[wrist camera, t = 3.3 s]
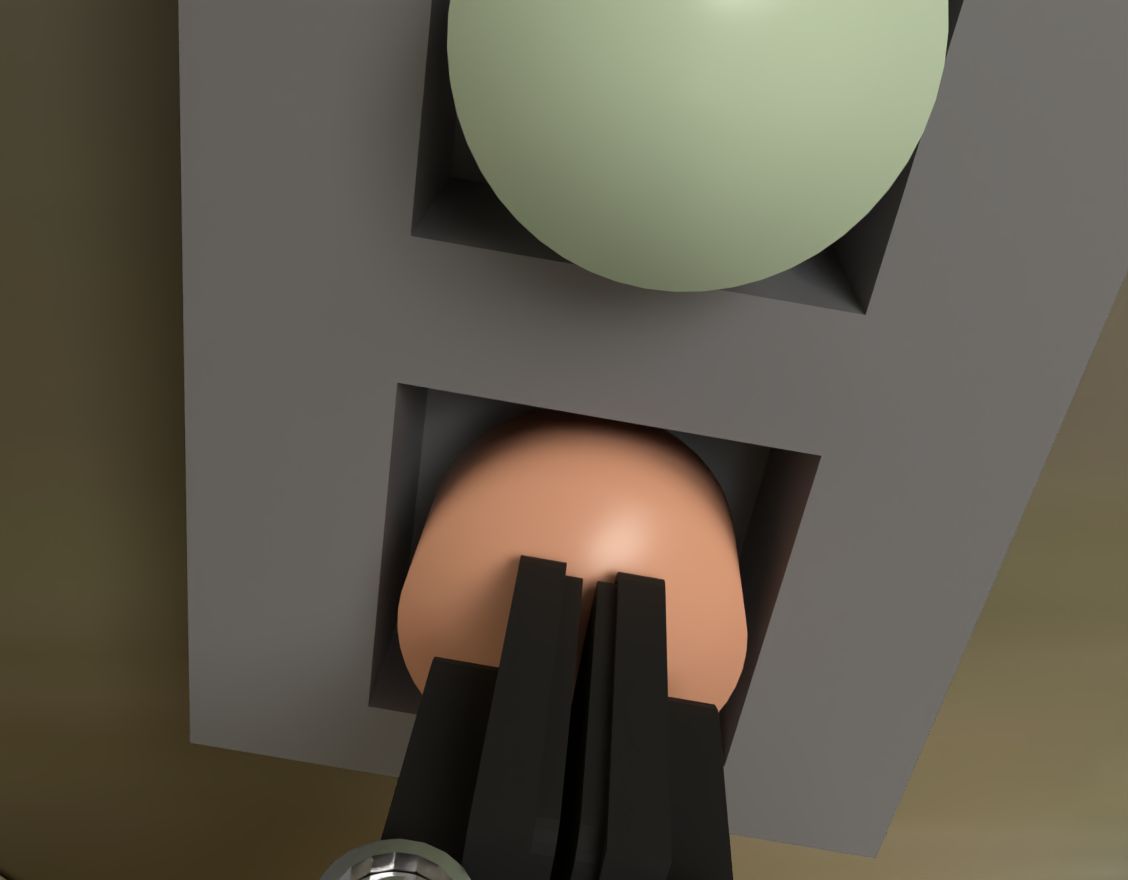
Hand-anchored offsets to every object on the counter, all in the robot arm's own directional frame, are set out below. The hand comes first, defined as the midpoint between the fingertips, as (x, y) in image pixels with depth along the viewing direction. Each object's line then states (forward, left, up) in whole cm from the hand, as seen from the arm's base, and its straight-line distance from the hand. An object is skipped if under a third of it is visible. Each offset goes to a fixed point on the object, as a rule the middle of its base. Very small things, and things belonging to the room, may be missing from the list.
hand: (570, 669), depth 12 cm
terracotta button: (0, 0, -2) cm, 2 cm away
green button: (-7, 0, -2) cm, 7 cm away
